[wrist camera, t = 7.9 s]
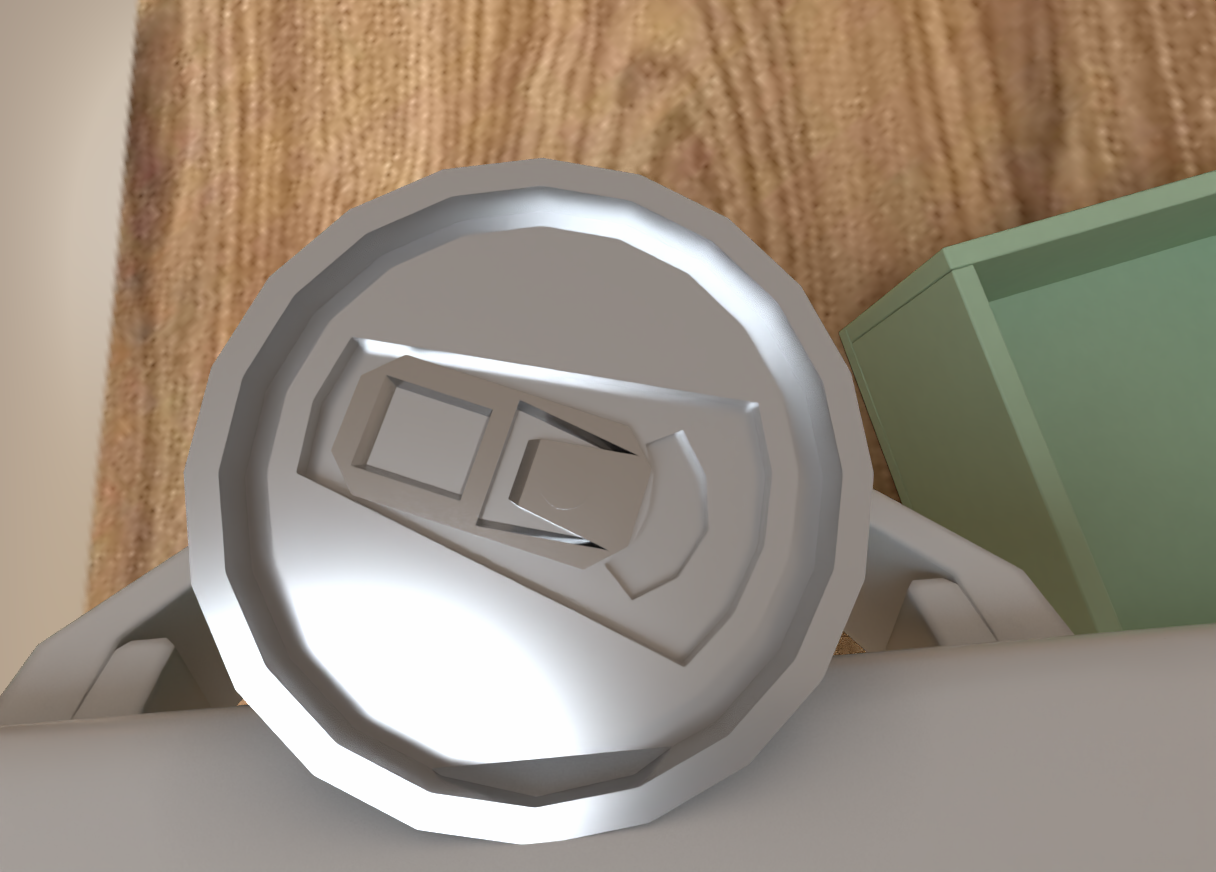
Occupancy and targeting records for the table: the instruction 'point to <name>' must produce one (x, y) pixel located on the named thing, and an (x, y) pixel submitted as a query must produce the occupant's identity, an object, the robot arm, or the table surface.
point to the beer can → (528, 497)
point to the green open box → (1064, 402)
